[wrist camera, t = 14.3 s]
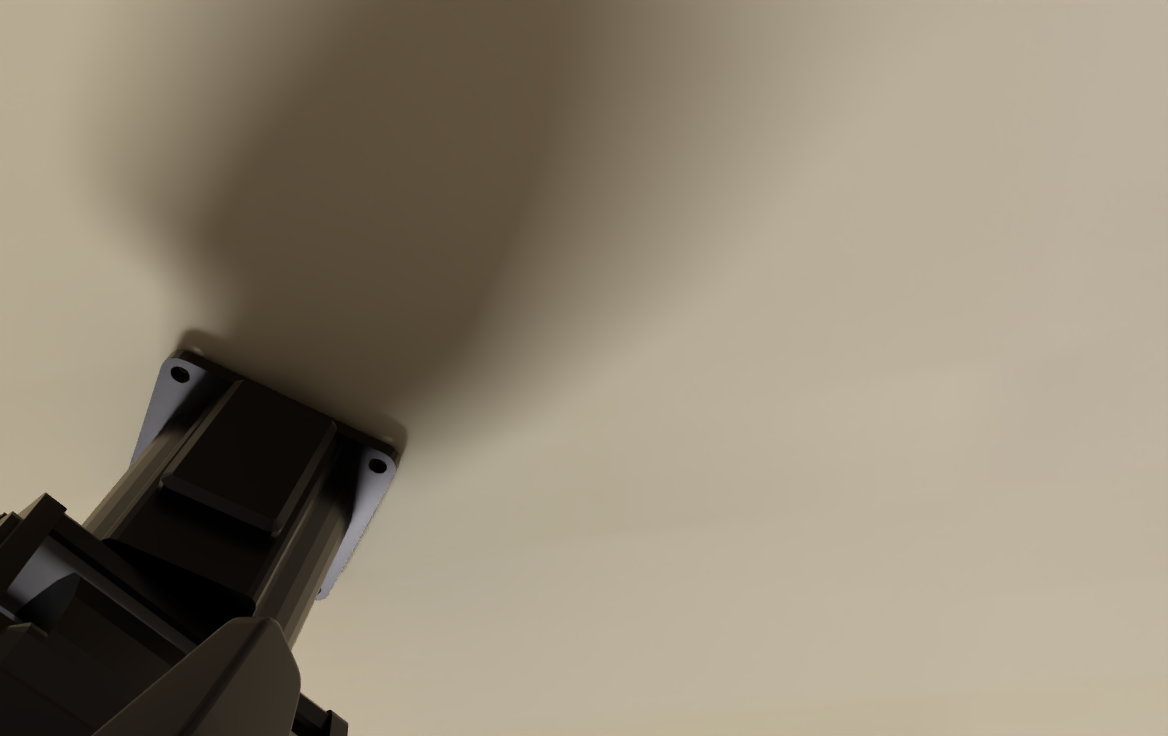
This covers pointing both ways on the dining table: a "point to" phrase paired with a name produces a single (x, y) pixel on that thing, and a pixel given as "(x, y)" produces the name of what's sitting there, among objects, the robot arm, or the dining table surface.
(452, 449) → the dining table surface
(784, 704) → the dining table surface
